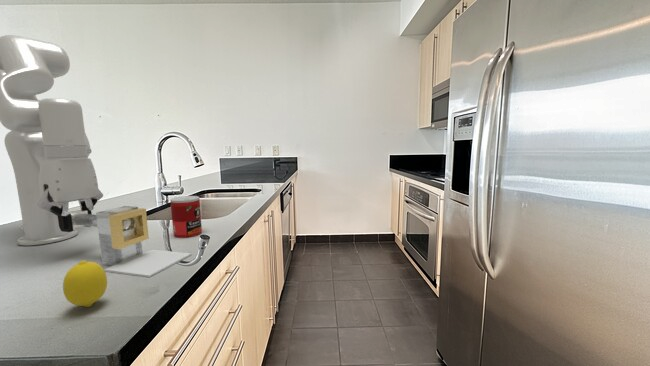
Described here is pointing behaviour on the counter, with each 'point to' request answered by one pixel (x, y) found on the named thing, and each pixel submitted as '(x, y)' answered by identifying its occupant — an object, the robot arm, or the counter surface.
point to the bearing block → (107, 251)
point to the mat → (148, 263)
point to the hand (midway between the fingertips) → (77, 228)
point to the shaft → (93, 219)
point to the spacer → (117, 228)
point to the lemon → (84, 283)
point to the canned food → (186, 216)
